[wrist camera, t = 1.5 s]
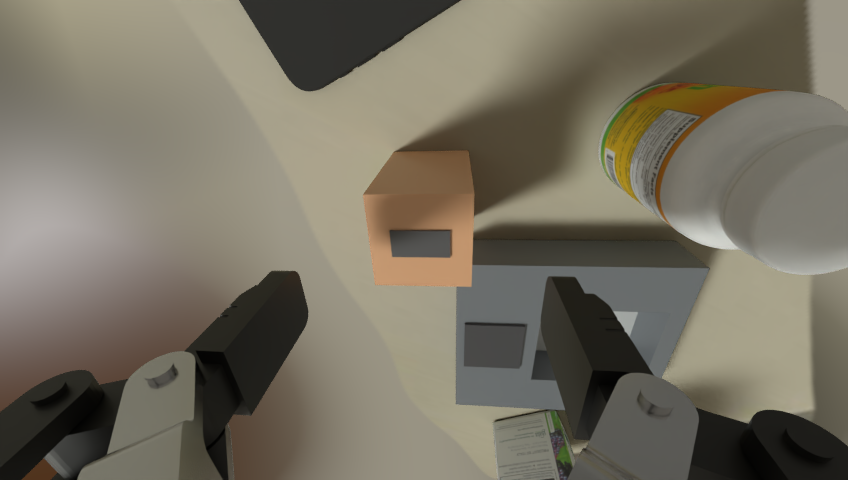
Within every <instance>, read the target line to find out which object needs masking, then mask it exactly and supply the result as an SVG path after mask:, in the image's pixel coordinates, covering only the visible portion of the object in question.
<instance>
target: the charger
mask: <svg viewBox="0 0 848 480" xmlns="http://www.w3.org/2000/svg"><path fill="white" fill-rule="evenodd" d="M474 195H475V193H474V186H473V179H472V172H471V164H470V157H469V150H457V151H409V152H394V153H393V154H392V155H391V157H390V158H389V160H388V161H387V162H386V164H385V165H384V166H383V168H382V169H381V171H380V172H379V173H378V175H377V176H376V177H375V179H374V180H373V182H372V183H371V184H370V186H369V187H368V189H367V190H366V191H365V193H364V194H363V198H364V205H365V213H366V220H367V227H368V235H369V242H370V249H371V257H372V264H373V272H374V279H375V285H406V286H458V287H471V285H472V255H473V225H474Z"/></svg>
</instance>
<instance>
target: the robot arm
mask: <svg viewBox="0 0 848 480" xmlns="http://www.w3.org/2000/svg"><path fill="white" fill-rule="evenodd" d="M307 319H308V307H307V303H306V299H305V296H304V292H303V288H302V284H301V280H300V276H299V274H298V273H297V272H296V271H271V272H270V273H269V274H268V275H267V276H266V277H265V278H264V279H263V280H262V281H261V282H260V283H259V284H258V285H255V286H254V287H252V288H251V289H249V290H247V291H246V292H244V293H242V294H241V295H240V296H239V297H238V298H237V299H236V300H235V301H234V302H233V303H232V304H231V305H230V307H229V308H227V309H226V310H225V311H224V312H223V313H222V314H221V315H220V318H219V317H218V318H217V319H216V320H215V321H214V322H213V323H212V324H211V325H210V326H209V327H208V328H207V329H206V330H205V331H204V332H203V333H202V334H201V335H200V336H199V337H198V338H197V339H196V340H195V341H194V342H193V343H192V344H191V345H190V346H189V347H188V348H187V349H186V350H185V351H184V352H173V353H169V354H165V355H163V356H160V357H158V358H156V359H153V360H152V361H150V362H148V363H146V364H145V365H143V366H142V367H141V368H139V369H138V370H137V371H136V372H135V373H134V374H133V375H132V376H131V377H130V378H129V379H126V380H121V381H116V382H111V383H106V384H101V385H99V383H98V382H97V380H96V379H95V378H94V376H93V375H92V373H90V372H89V371H86V370H76V371H70V372H67V373H63V374H60V375H58V376H55V377H53V378H50V379H48V380H46V381H44V382H42V383H40V384H39V385H37V386H35V387H34V388H32V389H30V390H29V391H27V392H26V393H25V394H23V395H22V396H21V397H19V398H18V399H17V400H15V401H14V402H13V403H12V404H10V405H9V406H8V407H6V408H5V409H4V410H2V411H1V412H0V480H21V479H22V478H24V477H25V475H26V474H27V473H29V472H30V471H31V470H32V469H33V468H34V467H35V465H37V464H38V463H39V462H40V461H41V460H42V459H43V458H44V459H45V460H46V461H47V462H48V463H49V464H50V465H51V466H52V467H53V468H54V469H55V470H56V471H57V472H58V473H57V474H56V475H55V476H54V477H53V478H52V480H234V470H233V457H232V445H231V432H230V428H229V426H228V424H227V423H228V422H229V420H230V419H231V417H232V416H233V414H237V415H250V416H251V415H252V413H253V411H254V410H255V408H256V407H257V405H258V404H259V402H260V400H261V399H262V397H263V395H264V394H265V392H266V390H267V389H268V387H269V385H270V384H271V382H272V381H273V379H274V377H275V375H276V374H277V372H278V371H279V369H280V367H281V366H282V364H283V362H284V361H285V359H286V358H287V356H288V354H289V353H290V351H291V349H292V348H293V346H294V344H295V343H296V341H297V340H298V338H299V336H300V335H301V333H302V331H303V330H304V328H305V326H306V323H307ZM541 332H542V337H543V340H544V343H545V347H546V350H547V353H548V356H549V360H550V363H551V366H552V369H553V372H554V376H555V379H556V382H557V385H558V388H559V392H560V395H561V398H562V401H563V404H564V408H565V411H566V414H567V417H568V421H569V424H570V427H571V430H572V433H573V437H574V439H581V440H590V441H589V443H588V445H587V447H586V449H585V448H583V449H582V451H581V453H580V454H579V456H578V458H577V460H576V462H575V464H574V466H573V469H572V471H571V473H570V475H569V477H568V479H567V480H848V446H847V445H845V444H844V443H843V442H842V441H841V440H839V439H838V438H837V437H835V436H834V435H833V434H831V433H830V432H828V431H826V430H825V429H823V428H822V427H820V426H818V425H816V424H814V423H812V422H810V421H808V420H806V419H804V418H801V417H799V416H796V415H793V414H790V413H787V412H783V411H777V410H763V411H760V412H757V413H756V414H755V415H754V416H753V417H752V419H751V421H750V422H749V424H747V423H744V422H740V421H737V420H734V419H730V418H727V417H724V416H720V415H717V414H713V413H710V412H707V411H704V410H701V409H698V408H696V407H695V406H694V404H693V403H692V401H691V400H690V399H689V398H688V397H687V396H686V395H685V394H684V393H683V392H682V391H681V390H680V389H678V388H677V387H676V386H674V385H673V384H671V383H669V382H667V381H666V380H664V379H661V378H659V377H656V376H654V375H653V373H652V371H651V370H650V368H649V367H648V365H647V364H646V362H645V360H644V359H643V357H642V356H641V354H640V353H639V351H638V350H637V348H636V346H635V345H634V343H633V342H632V340H631V339H630V337H629V336H628V334H627V332H625V329H624V328H623V326H622V325H621V323H620V321H618V320H617V317H616V315H615V314H614V312H613V311H612V309H611V307H610V306H609V305H608V304H607V303H606V302H604V301H603V300H602V299H601V298H599V297H598V296H597V295H595V294H586V293H585V292H584V291H583V289H582V287H581V285H580V284H579V282H578V280H577V279H576V277H568V276H549V277H548V278H547V280H546V286H545V292H544V299H543V306H542V312H541Z"/></svg>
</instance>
